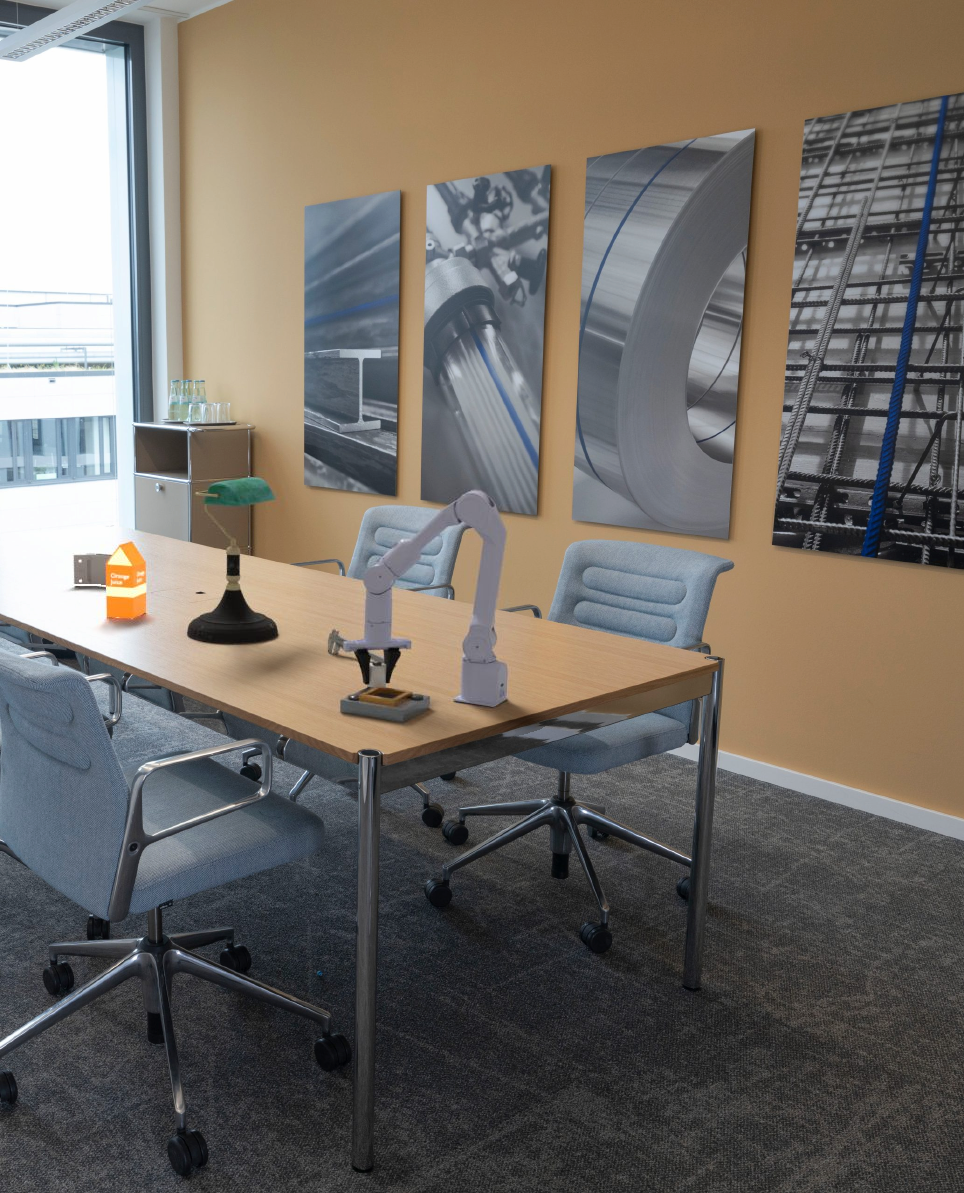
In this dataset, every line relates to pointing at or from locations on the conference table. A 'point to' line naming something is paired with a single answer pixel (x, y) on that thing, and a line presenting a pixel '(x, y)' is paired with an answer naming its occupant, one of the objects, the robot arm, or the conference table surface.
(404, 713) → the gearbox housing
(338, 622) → the conference table surface
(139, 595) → the orange juice
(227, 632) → the banker's lamp
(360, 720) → the conference table surface
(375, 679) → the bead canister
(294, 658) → the conference table surface
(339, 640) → the caliper
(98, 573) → the hinge
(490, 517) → the robot arm
